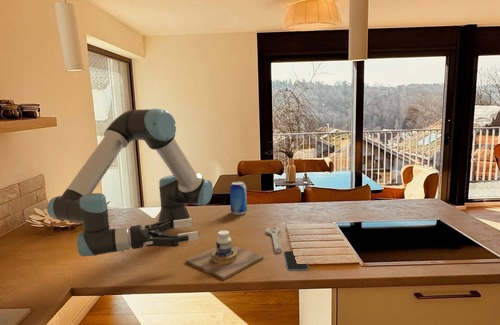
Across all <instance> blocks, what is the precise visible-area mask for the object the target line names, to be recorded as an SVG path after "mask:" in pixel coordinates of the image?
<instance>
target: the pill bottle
mask: <svg viewBox="0 0 500 325" xmlns="http://www.w3.org/2000/svg"><path fill="white" fill-rule="evenodd" d="M215 243H216V247H217V256H219V257H227V256H230V255H232V248H231V245H232V238H231V237H230V231H228V230H220V231H218V232H217V238H216V242H215Z"/></svg>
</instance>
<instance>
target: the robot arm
mask: <svg viewBox="0 0 500 325" xmlns="http://www.w3.org/2000/svg"><path fill="white" fill-rule="evenodd" d="M108 125H109V126H107V128H106V129H105V130H104V132H103V138H102V140H101V141H100V143H99V144H98V145H97V146H96V148H95V149H94V151H93V152H92V153H91V154H90V156H89V158H88V159H87V160H86V162H85V163H84V165H82V167H81V168H80V170H78V172H77V174H76V175H75V177H74V178H73V179H72V180H71V182H70V184H69V185H68V187H67V188H66V189H65V191H64V192H63V193H62V195H59V196H54V197H53V198H50V200H49V201H48V203H47V205H46V210H47V211H46V212H47V214H48V216H50V217H51V218H53V219H55V220H59V221H67V222H74V223H78V224H79V223H80V224H82V230H83V231H82V232H81V233H79V234H78V235H77V238H76V242H77V243H76V244H77V248H76V249H77V252H78V255H80V257H92V256H96V257H97V256H99V255H105V254H110V253H117V252H121V253H123V252H125V251H129V250H130V249H132V250H137V249H138V250H139V249H143V248H144V244H145V246H146V247H148V248H149V247H173V248H174V247H178V246H179V244H180V243H186V242H193V241H199V231H198V230H197V231H191V232H190V231H189V232H182V233H177V235H175V234H174V235H173V234H167V233H165V232H166V231H169V230H171V229H180V228H187V227H188V228H189V227H193V219H192V217H190V213H189V211H188V209H187V206H186V204H188V205H197V206H206V205H207V204H210V201H211V199H212V196H213V191H214V186H213V182H212V181H211V180H209V179H204V178H203V176H202V174H201V173H199V172H197V171H195V169H194V168H193V166H192V164H191V163H190V162H189V160H188V159H187V157H186V155H185V153H184V152H183V150H182V149H181V147H180V146H179V144H178V142H177V141H176V132H177V126H176V119H175V118H174V116H173V114H171V113H170V112H169V111H168V110H166V109H159V108H151V109H150V108H149V109H129V110H127V111H125V112H122V113H121V114H120V115H119V116H117V117H116V118H115V119H114V120H113V121H112V122H111V123H110V124H108ZM134 141H144V142H145V144H146V145H147V146H148V147H149V149H151V150H154V151H156V153H157V154H158V155H159V156H160V158H161V160H162V161H163V162H164V164H165V165H166V167H167V168H168V170H169V171H170V172H171V174H172V175H166V176H164V177H161V178H160V179H159V187H158V189H159V198H160V211H159V217H158V219H157V221H158V222H154V223H151V224H146V225H144V229H143V225H141V224H136V225H131V226H121V227H116V228H110V223H109V212H108V210H109V209H108V208H109V207H108V204H107V200H106V199H107V198H106V196H105V194H103V193H100V192H96V193H95V192H94V191H95V189H96V188H97V186H98V185H99V183H100V182H101V180H102V179H103V178H104V176H105V174H106V173H107V172H108V170H109V168H110V167H111V166H112V164H113V162H114V161H115V160H116V158H117V157H118V155H119V154H120V152H121V151H122V149H125V148H127V147H128V145H129V144H130V143H131V142H134Z"/></svg>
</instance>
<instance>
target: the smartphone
mask: <svg viewBox="0 0 500 325" xmlns="http://www.w3.org/2000/svg"><path fill="white" fill-rule="evenodd" d="M293 251H294V250H290V251H287V250H286V251H283V255H284V260H285V267H286V269H287V270H288V271H291V272H292V271H297V272H298V271H308V270H309V265H308V263H307V264H297V263H296V260H295V256H294V255H293Z"/></svg>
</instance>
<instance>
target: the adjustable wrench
mask: <svg viewBox="0 0 500 325" xmlns="http://www.w3.org/2000/svg"><path fill="white" fill-rule="evenodd" d="M280 233H281V228H280V227H278V226H274V227H273V229H271V228H270V227H267V228H266V229H265V234H266V235H269V236H270V237H271V239H272V243H273V244H272V245H273V248H274V249H273V250H274V252H275V254H282V253H283V249H282V246H281V242H280V239H279V237H278V236H279V234H280Z"/></svg>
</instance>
